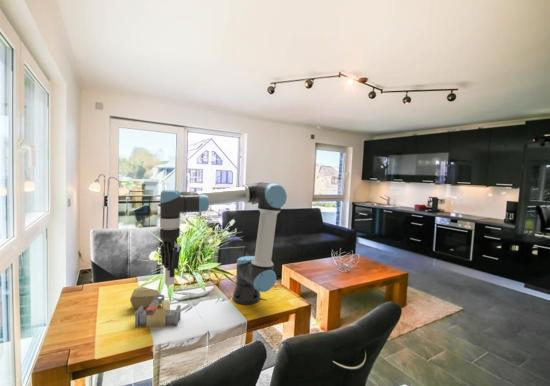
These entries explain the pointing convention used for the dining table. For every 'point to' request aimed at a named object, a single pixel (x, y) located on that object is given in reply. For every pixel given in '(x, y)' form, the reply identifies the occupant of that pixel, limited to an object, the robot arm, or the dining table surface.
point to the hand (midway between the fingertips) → (169, 283)
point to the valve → (158, 316)
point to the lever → (154, 304)
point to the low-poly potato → (142, 297)
